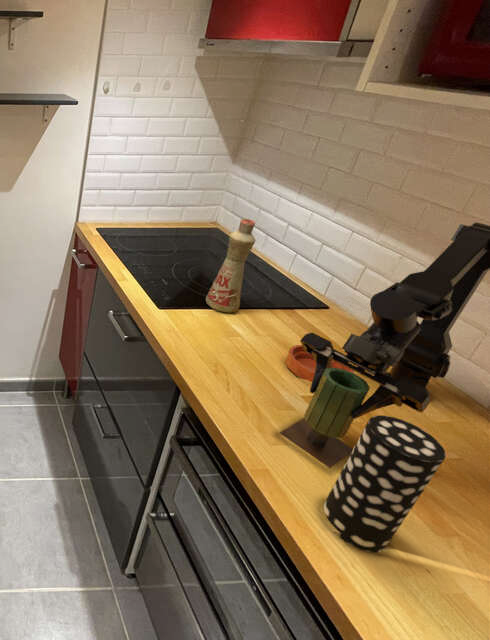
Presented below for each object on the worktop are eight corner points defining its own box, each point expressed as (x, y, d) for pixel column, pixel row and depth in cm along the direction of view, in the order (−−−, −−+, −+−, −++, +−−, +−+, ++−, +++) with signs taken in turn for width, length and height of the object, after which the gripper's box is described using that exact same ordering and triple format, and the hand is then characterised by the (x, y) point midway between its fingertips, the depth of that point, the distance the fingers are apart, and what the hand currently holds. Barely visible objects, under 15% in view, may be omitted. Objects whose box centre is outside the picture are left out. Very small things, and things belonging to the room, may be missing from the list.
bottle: (245, 314, 129) (275, 225, 117) (213, 314, 129) (240, 225, 118) (229, 298, 137) (255, 214, 125) (199, 298, 137) (223, 213, 125)
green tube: (299, 408, 89) (318, 364, 84) (337, 416, 87) (359, 372, 83) (311, 432, 83) (332, 387, 79) (352, 441, 82) (376, 396, 77)
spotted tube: (399, 543, 70) (460, 454, 62) (362, 559, 68) (420, 468, 60) (344, 496, 78) (393, 410, 69) (309, 509, 75) (354, 421, 67)
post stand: (302, 420, 93) (312, 399, 91) (353, 453, 86) (365, 430, 83) (277, 436, 89) (287, 413, 87) (328, 471, 82) (340, 448, 80)
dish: (278, 351, 114) (282, 340, 112) (335, 362, 110) (340, 351, 109) (294, 383, 103) (299, 371, 102) (357, 396, 100) (363, 384, 98)
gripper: (322, 296, 85) (270, 359, 85) (455, 353, 70) (391, 429, 70) (330, 320, 92) (281, 378, 92) (452, 376, 77) (394, 446, 77)
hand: (331, 404), depth 82 cm, fingers closed on green tube, 6 cm apart
